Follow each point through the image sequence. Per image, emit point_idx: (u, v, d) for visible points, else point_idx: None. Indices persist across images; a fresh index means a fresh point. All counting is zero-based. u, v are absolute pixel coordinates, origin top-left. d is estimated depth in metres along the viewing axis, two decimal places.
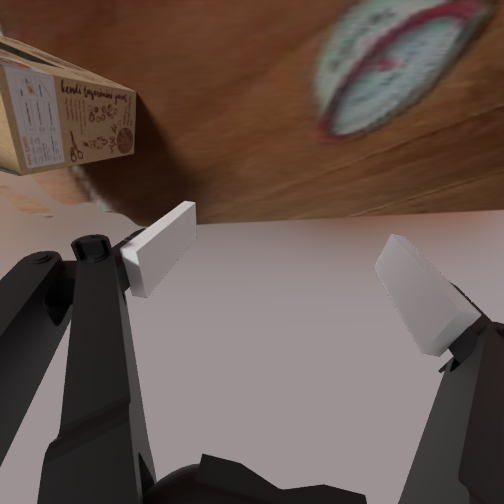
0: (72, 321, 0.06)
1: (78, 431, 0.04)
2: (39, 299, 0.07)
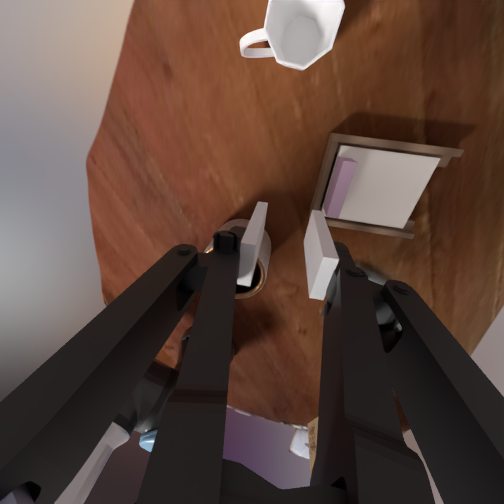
0: (200, 298, 0.07)
1: (187, 397, 0.04)
2: (175, 286, 0.08)
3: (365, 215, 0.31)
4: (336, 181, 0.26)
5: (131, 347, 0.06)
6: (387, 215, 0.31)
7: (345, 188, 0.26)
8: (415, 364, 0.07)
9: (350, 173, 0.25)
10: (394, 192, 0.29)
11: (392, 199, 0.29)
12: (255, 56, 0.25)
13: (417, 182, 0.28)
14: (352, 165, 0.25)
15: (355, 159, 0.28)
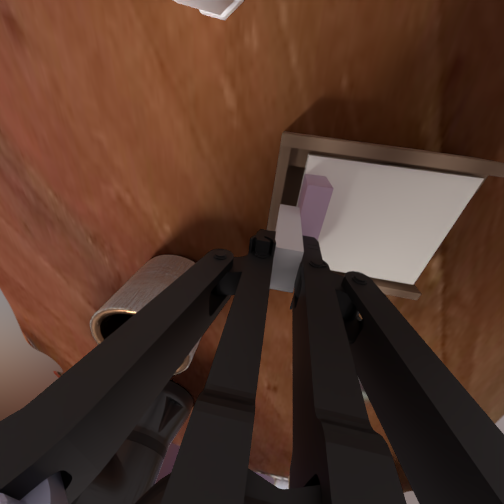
0: (233, 300, 0.07)
1: (216, 399, 0.04)
2: (209, 291, 0.08)
3: (353, 264, 0.20)
4: None
5: (164, 349, 0.06)
6: (388, 265, 0.19)
7: (314, 231, 0.15)
8: (376, 353, 0.07)
9: (321, 207, 0.14)
10: (400, 232, 0.17)
11: (397, 242, 0.18)
12: None
13: (439, 218, 0.16)
14: (324, 193, 0.13)
15: (334, 178, 0.16)
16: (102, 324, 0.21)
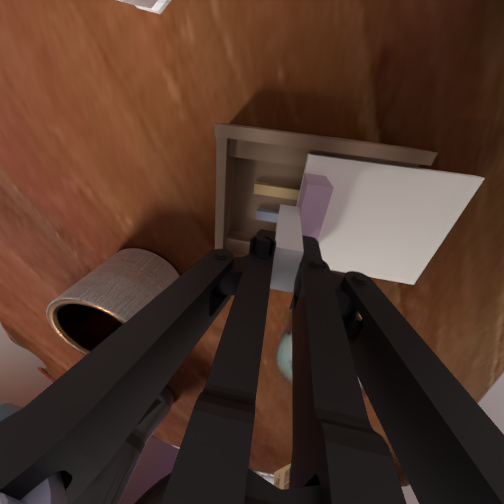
0: (234, 300, 0.07)
1: (217, 399, 0.04)
2: (209, 291, 0.08)
3: (353, 264, 0.19)
4: None
5: (164, 349, 0.06)
6: (389, 265, 0.19)
7: (314, 231, 0.15)
8: (376, 353, 0.07)
9: (321, 206, 0.14)
10: (400, 231, 0.17)
11: (397, 242, 0.18)
12: None
13: (439, 217, 0.16)
14: (324, 193, 0.13)
15: (334, 178, 0.16)
16: (59, 315, 0.22)
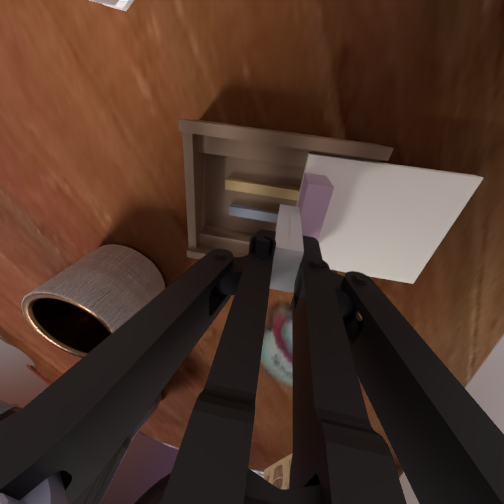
0: (233, 300, 0.07)
1: (216, 399, 0.04)
2: (209, 291, 0.08)
3: (353, 263, 0.20)
4: None
5: (164, 349, 0.06)
6: (388, 264, 0.19)
7: (314, 230, 0.15)
8: (376, 353, 0.07)
9: (322, 206, 0.14)
10: (400, 231, 0.17)
11: (397, 241, 0.18)
12: None
13: (439, 217, 0.16)
14: (324, 192, 0.13)
15: (334, 177, 0.16)
16: (35, 309, 0.22)
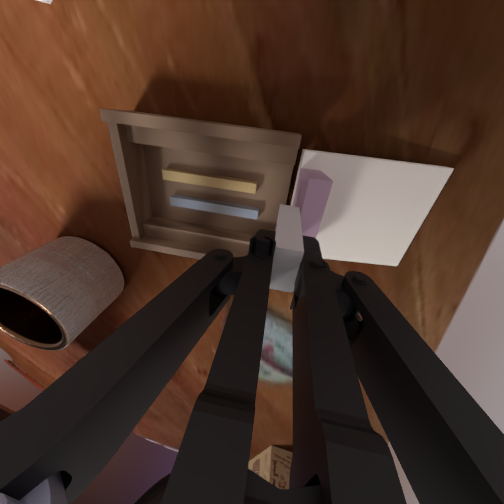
0: (233, 300, 0.07)
1: (217, 399, 0.04)
2: (209, 291, 0.08)
3: (345, 251, 0.21)
4: (300, 211, 0.16)
5: (163, 349, 0.06)
6: (376, 250, 0.21)
7: (315, 222, 0.16)
8: (377, 353, 0.07)
9: (322, 199, 0.15)
10: (386, 219, 0.19)
11: (383, 228, 0.20)
12: None
13: (418, 204, 0.18)
14: (324, 186, 0.14)
15: (327, 172, 0.17)
16: None
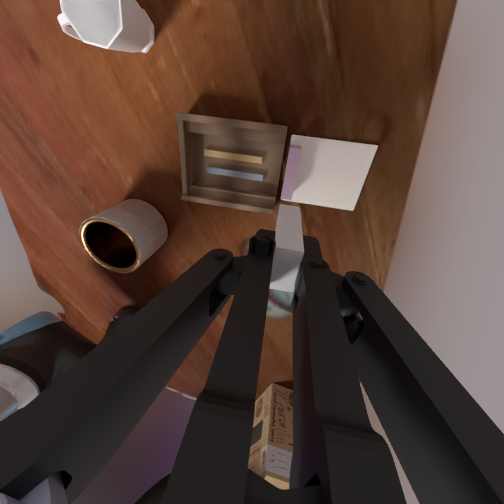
0: (233, 300, 0.07)
1: (217, 398, 0.04)
2: (209, 291, 0.08)
3: (319, 198, 0.34)
4: (286, 166, 0.30)
5: (163, 349, 0.06)
6: (338, 198, 0.34)
7: (294, 172, 0.30)
8: (377, 353, 0.07)
9: (296, 158, 0.29)
10: (342, 177, 0.32)
11: (341, 183, 0.33)
12: None
13: (360, 168, 0.31)
14: (297, 151, 0.28)
15: (305, 147, 0.31)
16: (86, 233, 0.35)
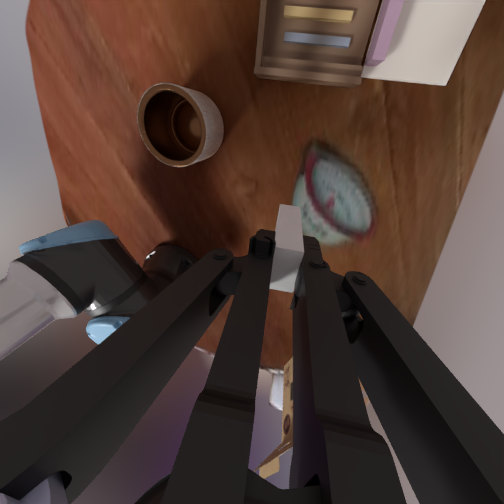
0: (233, 300, 0.07)
1: (216, 399, 0.04)
2: (209, 291, 0.08)
3: (407, 71, 0.31)
4: (385, 11, 0.26)
5: (163, 349, 0.06)
6: (431, 69, 0.30)
7: (395, 17, 0.26)
8: (377, 353, 0.07)
9: None
10: (440, 36, 0.28)
11: (437, 46, 0.29)
12: None
13: (465, 21, 0.27)
14: None
15: None
16: (145, 113, 0.31)
